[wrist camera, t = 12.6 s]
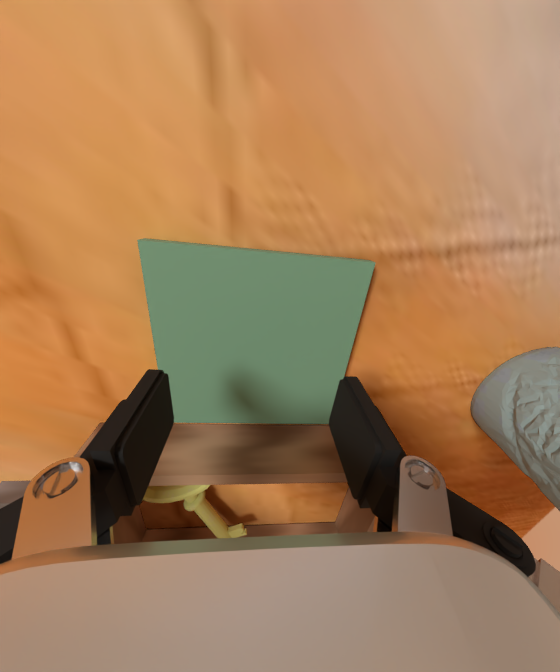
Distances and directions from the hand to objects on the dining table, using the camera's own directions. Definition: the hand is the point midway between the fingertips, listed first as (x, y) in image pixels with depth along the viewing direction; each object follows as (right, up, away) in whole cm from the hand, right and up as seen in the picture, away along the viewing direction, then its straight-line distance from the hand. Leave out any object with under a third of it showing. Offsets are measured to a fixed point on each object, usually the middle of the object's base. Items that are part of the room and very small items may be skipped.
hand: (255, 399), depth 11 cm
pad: (0, +2, +4) cm, 5 cm away
